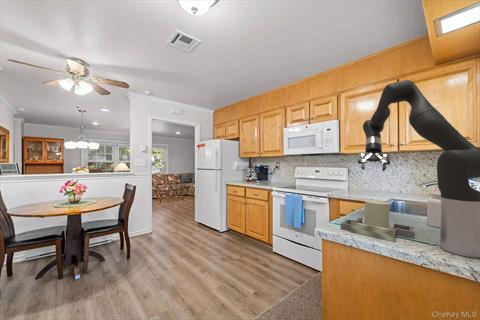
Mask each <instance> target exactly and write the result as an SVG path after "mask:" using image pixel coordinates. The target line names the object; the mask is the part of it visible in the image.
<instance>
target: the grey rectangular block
mask: <svg viewBox="0 0 480 320" xmlns="http://www.w3.org/2000/svg"><path fill="white" fill-rule="evenodd" d="M364 224H366V225H371V226H377V227H382V228H387V229H390V202H388V201H386V200H380V199H366V200H365V199H364Z"/></svg>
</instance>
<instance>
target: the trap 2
mask: <svg viewBox="0 0 480 320" xmlns="http://www.w3.org/2000/svg"><path fill="white" fill-rule="evenodd" d="M397 224H398V226H397V228H396V236H398V235H400V236H399V237H403V236H404V238H408V239H414V234H415V233H414V226H411V225H407V224H406V225H405V224H400V223H397Z"/></svg>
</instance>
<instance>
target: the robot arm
mask: <svg viewBox="0 0 480 320" xmlns="http://www.w3.org/2000/svg"><path fill="white" fill-rule="evenodd" d="M401 102H407V103H408V104H409V106H410V108H411V109H410V111H409V114H408V115H409V116H408V122H409V124H410V126H411V127H412V129H413V130H414V131H415V132H416V133H417V134H418V135H419V136H420V137H422V138H423V139H424V140H426V141H428V142H429V143H431V144H434V145H435V146H437V147H439V148H441V149H442V150H443V152H442V153H441V154H440V155H439V156H438V159H437V162H436V176H437V177H436V179H437V187H438V190H439V193H441V209H440V228H439V230H440V231H439V248H441V249H442V250H443V251H446V252H448V253H451V254H454V255H458V256H462V257H467V258H478V259H480V191H479V190H477V189H474V188H473V187H472V186H471V185H470V179H478V178H480V148H478V147H476V145H474V144H473V143H472V142H470V141H469V139H467V138H466V137H464V136H463V135H462V134H461V133H460V132H459V131H458V130H457V128H455V127H454V126H453V125H452V124H451V123H450V122H449V121H448V120H447V119H446V118H445V116H443V114H442V113H441V112H440V111H438V110H437V109H436V107H434V105H432V103H430V101H429V100H428V99H427V98H426V97H425V96H424V95H423V93H422V92H421V90H420V89H419V87H418V86H417V84H416V83H415V82H414V81H412V80H410V79H404V80H400V81H395V82H391V83H388V84H387V85H385V87H384V88H383V90H382V93H381V95H380V98H379V102H378V104H377V107H376V109H375V111H374V113H373V114H372V115H371V118H370V119H367V120H365V121H364V122H363V125H362V129H363V132H364V134H365V136H366V137H365V145H364V146H365V148H364V149H365V152H364V153H362V152H358V156H357V164H359V165H361V166H360V168H361V169H362V170H363V171H364V170H365V166H366V165H365V164H366V163H368V162H369V163H370V162H372V163H373V162H374V163H379V164H381V166H382V172H385V171H386V170H387V166H390V165H391V157H390V156H391V155H390V153H386V154H384V153H383V149H382V147H383V146H382V145H383V144H382V137H381V132H383V130H384V127H385V123H386V122H387V120H388V119H389V118H390V115H391V108H390V105H391V104H396V103H401ZM363 157H364V158H363ZM362 158H363V159H362ZM361 159H362V160H361Z"/></svg>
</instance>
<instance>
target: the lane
mask: <svg viewBox="0 0 480 320" xmlns="http://www.w3.org/2000/svg"><path fill="white" fill-rule="evenodd" d="M355 220H356V221H355V222H351V224H350V231H349V232H350V233H352V234H357V235H362V236H366V237H371V238H375V239H380V240H385V241H389V242H393V243H394V242H395V240H396V236H397V235H396V228H397V226H398V224H399V223H394V224H393V227H392V228H389V229H387V228H382V227H377V226H371V225H366V224H365V223H363V218H362V217H358V218H357V219H355Z"/></svg>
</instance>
